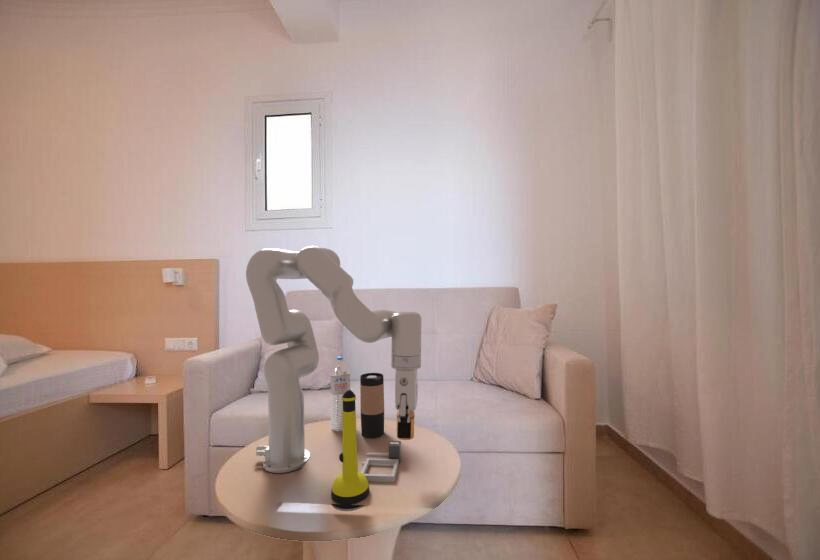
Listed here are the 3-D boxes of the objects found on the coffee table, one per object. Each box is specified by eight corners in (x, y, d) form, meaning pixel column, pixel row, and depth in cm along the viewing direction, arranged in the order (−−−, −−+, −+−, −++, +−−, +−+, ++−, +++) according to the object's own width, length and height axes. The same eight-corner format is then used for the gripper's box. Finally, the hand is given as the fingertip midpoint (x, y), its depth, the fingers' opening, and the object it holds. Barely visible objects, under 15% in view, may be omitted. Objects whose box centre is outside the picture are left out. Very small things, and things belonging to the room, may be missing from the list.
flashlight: (369, 384, 86) (333, 384, 86) (366, 395, 77) (325, 396, 77) (371, 487, 86) (334, 488, 86) (368, 510, 77) (326, 511, 77)
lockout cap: (395, 439, 87) (395, 415, 87) (397, 432, 92) (397, 408, 92) (413, 440, 87) (413, 416, 87) (414, 432, 91) (415, 409, 91)
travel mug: (364, 432, 118) (363, 372, 119) (386, 433, 117) (385, 372, 118) (358, 442, 111) (357, 378, 111) (381, 443, 110) (380, 378, 110)
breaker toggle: (388, 462, 95) (388, 445, 95) (390, 457, 98) (390, 440, 98) (399, 463, 95) (399, 445, 95) (401, 457, 98) (400, 440, 98)
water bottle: (327, 434, 117) (326, 358, 118) (335, 426, 124) (334, 354, 125) (347, 435, 116) (346, 359, 117) (353, 427, 123) (352, 355, 123)
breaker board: (338, 485, 87) (338, 474, 87) (353, 457, 101) (353, 448, 101) (395, 487, 86) (394, 476, 86) (401, 459, 100) (401, 449, 100)
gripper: (418, 369, 81) (417, 449, 81) (422, 354, 97) (422, 421, 97) (386, 368, 81) (385, 448, 81) (395, 353, 98) (395, 419, 98)
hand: (405, 432), depth 89 cm, fingers closed on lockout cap, 4 cm apart
